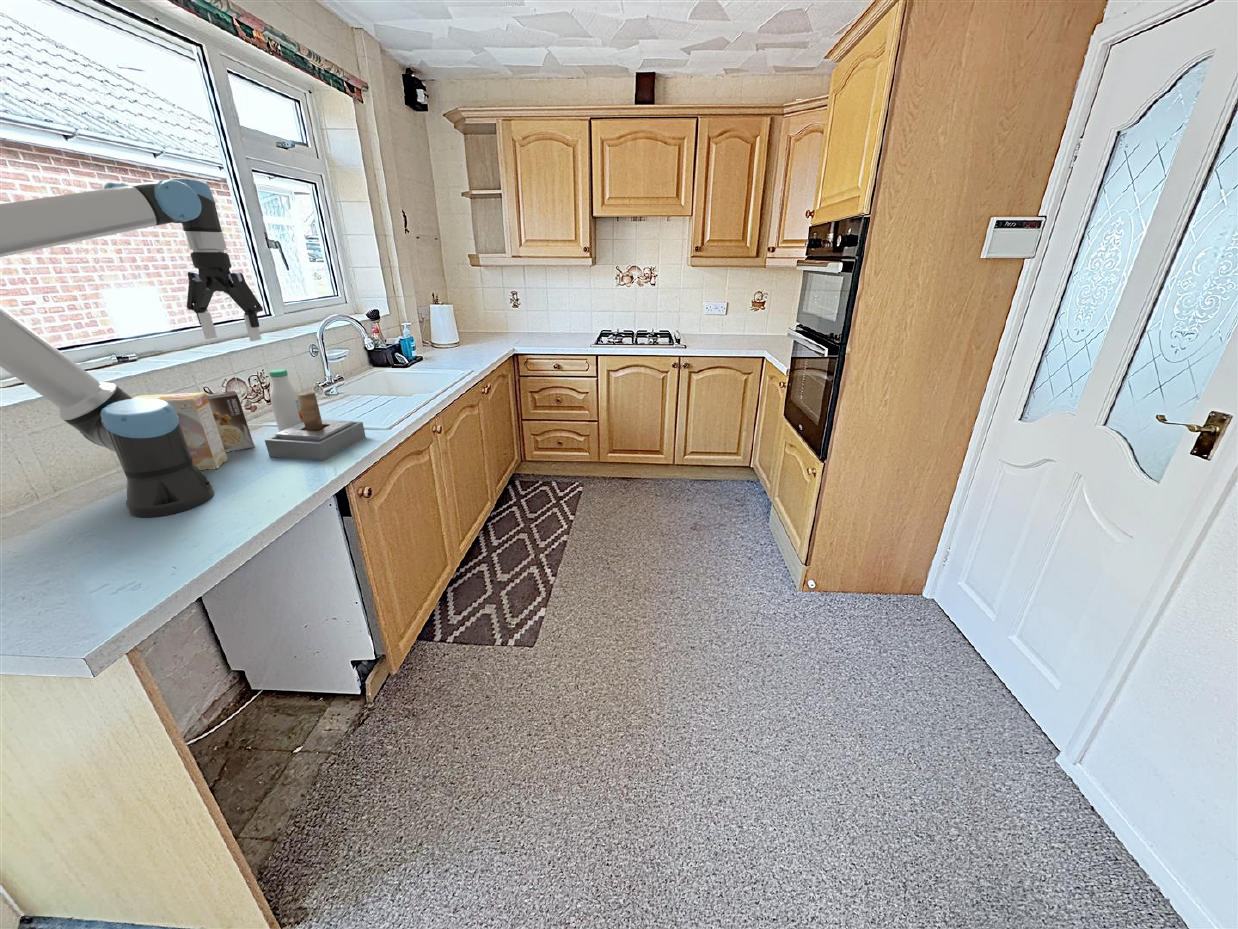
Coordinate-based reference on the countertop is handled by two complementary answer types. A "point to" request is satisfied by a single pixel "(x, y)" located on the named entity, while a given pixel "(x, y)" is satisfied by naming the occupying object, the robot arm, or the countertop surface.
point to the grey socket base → (316, 444)
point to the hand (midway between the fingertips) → (233, 339)
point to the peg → (310, 411)
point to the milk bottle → (284, 400)
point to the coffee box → (230, 421)
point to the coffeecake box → (197, 427)
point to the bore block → (301, 434)
